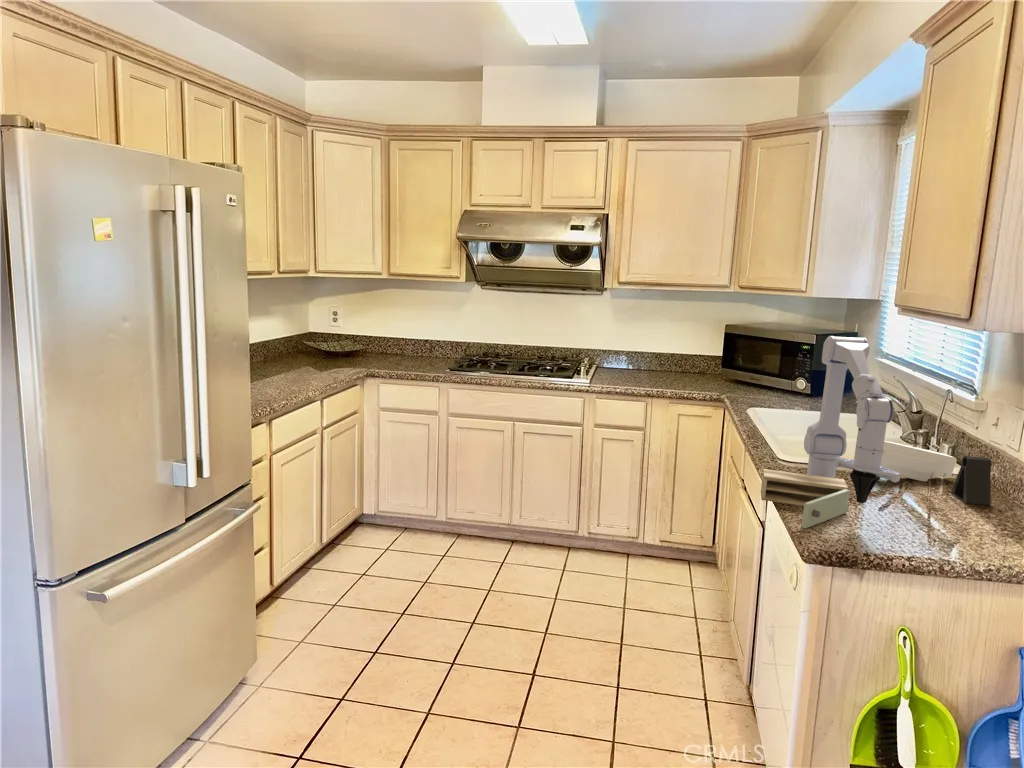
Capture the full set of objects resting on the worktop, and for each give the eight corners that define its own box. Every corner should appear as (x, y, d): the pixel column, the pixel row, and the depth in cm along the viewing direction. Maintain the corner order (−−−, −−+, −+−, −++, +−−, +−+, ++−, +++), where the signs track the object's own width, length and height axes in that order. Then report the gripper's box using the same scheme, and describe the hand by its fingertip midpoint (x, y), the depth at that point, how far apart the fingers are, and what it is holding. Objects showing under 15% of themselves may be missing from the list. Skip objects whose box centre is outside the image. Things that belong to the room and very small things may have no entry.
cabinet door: (801, 526, 158) (804, 503, 157) (844, 510, 170) (847, 488, 169) (810, 530, 157) (813, 506, 156) (852, 513, 168) (856, 491, 167)
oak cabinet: (760, 491, 183) (763, 468, 182) (840, 502, 177) (843, 479, 176) (761, 499, 177) (764, 476, 175) (844, 511, 170) (847, 487, 169)
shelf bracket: (862, 477, 200) (875, 438, 198) (932, 492, 204) (946, 453, 203) (874, 483, 194) (888, 443, 192) (946, 498, 199) (960, 459, 197)
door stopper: (990, 506, 179) (998, 463, 177) (965, 503, 180) (973, 461, 178) (974, 494, 188) (981, 453, 185) (950, 492, 189) (957, 452, 186)
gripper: (830, 442, 161) (823, 495, 164) (893, 457, 150) (884, 514, 152) (845, 438, 165) (838, 490, 168) (907, 453, 154) (898, 509, 157)
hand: (861, 501), depth 160 cm, fingers closed
